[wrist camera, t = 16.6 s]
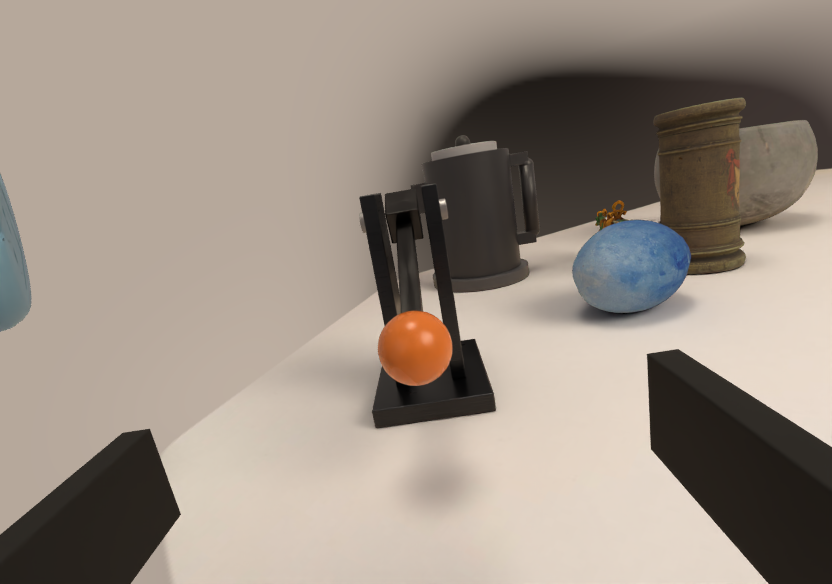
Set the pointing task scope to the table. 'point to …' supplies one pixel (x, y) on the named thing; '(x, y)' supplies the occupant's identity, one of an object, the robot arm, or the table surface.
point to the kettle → (482, 212)
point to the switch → (411, 305)
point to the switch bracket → (465, 374)
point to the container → (703, 182)
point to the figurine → (610, 216)
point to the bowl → (771, 168)
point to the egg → (631, 266)
